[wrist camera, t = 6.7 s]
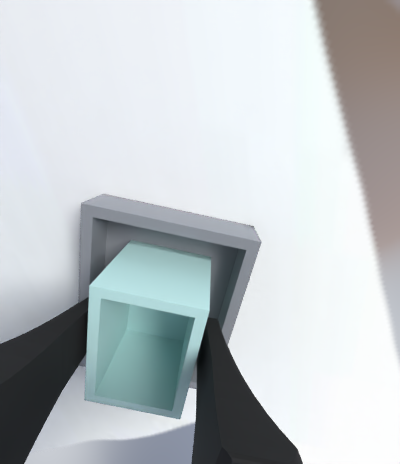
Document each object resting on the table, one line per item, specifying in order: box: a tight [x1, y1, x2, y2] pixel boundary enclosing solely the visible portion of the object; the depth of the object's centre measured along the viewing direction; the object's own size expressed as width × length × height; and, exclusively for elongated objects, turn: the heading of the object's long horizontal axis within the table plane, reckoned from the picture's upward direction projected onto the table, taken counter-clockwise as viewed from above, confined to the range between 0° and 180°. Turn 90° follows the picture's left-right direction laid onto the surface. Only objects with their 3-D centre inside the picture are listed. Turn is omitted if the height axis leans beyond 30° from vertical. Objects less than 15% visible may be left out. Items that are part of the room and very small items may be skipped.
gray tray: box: [79, 194, 261, 389], centre depth 15 cm, size 9×11×2 cm
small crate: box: [85, 240, 211, 419], centre depth 13 cm, size 5×7×5 cm
